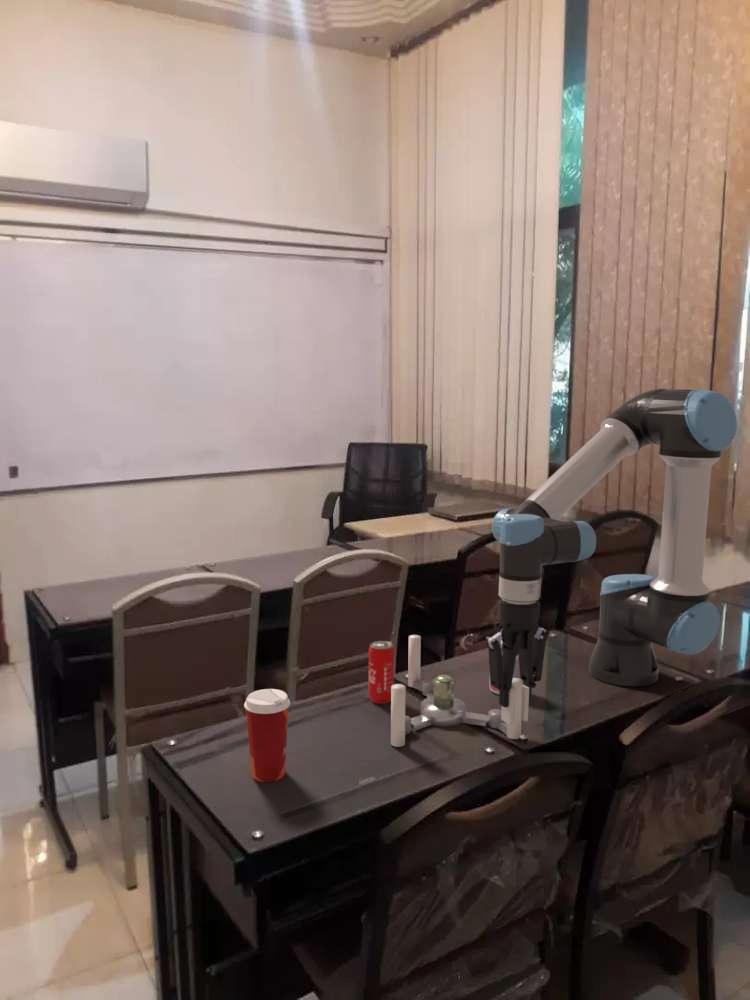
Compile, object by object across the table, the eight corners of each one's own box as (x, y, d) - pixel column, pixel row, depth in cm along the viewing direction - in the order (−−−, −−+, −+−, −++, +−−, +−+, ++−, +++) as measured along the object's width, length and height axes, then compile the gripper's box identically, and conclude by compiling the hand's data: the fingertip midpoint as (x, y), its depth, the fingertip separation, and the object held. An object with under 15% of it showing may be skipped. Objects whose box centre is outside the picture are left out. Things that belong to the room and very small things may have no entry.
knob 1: (393, 725, 152) (393, 671, 150) (411, 727, 151) (412, 672, 150) (387, 746, 144) (387, 689, 142) (406, 748, 143) (407, 690, 141)
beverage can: (390, 705, 162) (391, 649, 160) (366, 703, 163) (366, 647, 161) (395, 695, 167) (395, 641, 165) (371, 693, 168) (371, 639, 166)
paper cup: (300, 773, 134) (299, 695, 132) (265, 790, 129) (264, 710, 126) (270, 758, 139) (269, 683, 137) (235, 774, 134) (233, 696, 131)
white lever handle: (443, 694, 167) (444, 644, 165) (430, 698, 165) (431, 647, 163) (416, 681, 174) (416, 633, 172) (403, 685, 172) (404, 636, 170)
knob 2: (484, 722, 154) (486, 668, 152) (500, 719, 155) (501, 665, 153) (509, 741, 146) (511, 684, 144) (525, 737, 147) (527, 681, 146)
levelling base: (471, 696, 167) (472, 659, 165) (491, 726, 153) (493, 686, 151) (394, 700, 164) (394, 663, 163) (407, 731, 150) (407, 690, 149)
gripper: (497, 610, 137) (492, 736, 140) (566, 598, 144) (560, 719, 148) (471, 599, 143) (468, 720, 147) (539, 589, 151) (534, 704, 154)
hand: (514, 719), depth 147 cm, fingers open, 3 cm apart
